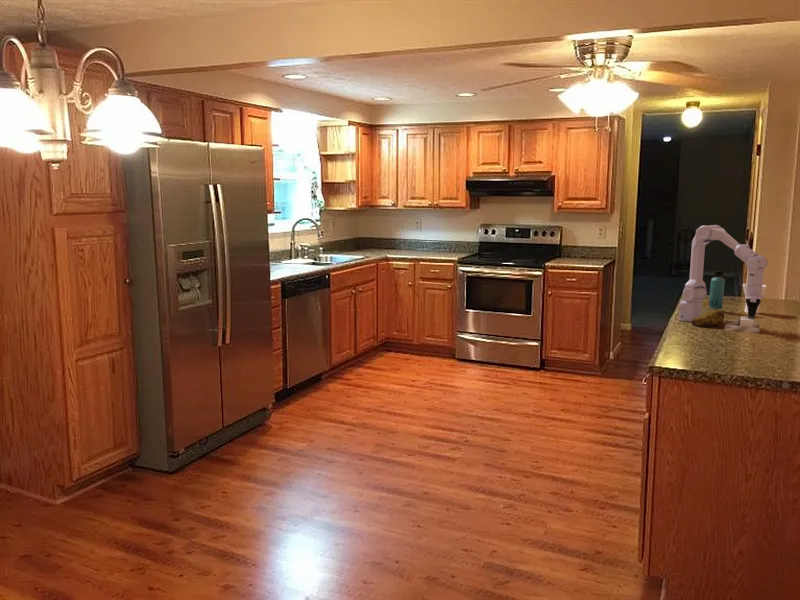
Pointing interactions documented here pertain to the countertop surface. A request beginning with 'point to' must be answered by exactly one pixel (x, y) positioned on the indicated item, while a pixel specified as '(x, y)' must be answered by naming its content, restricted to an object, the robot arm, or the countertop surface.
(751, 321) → the block
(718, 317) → the potato
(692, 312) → the robot arm
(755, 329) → the press board
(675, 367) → the countertop surface
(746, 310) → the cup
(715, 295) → the beverage bottle
